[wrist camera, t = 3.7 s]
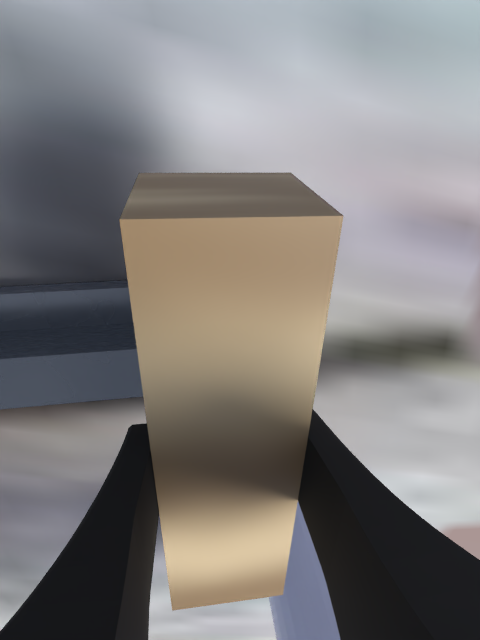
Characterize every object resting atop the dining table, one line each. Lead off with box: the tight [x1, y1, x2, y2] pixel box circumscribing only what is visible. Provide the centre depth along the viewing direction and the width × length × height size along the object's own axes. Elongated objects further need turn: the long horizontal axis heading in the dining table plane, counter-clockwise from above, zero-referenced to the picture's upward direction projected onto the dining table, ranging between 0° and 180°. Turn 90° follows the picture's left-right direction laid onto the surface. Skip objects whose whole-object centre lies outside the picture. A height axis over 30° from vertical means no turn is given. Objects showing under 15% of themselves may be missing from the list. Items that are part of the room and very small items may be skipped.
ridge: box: [0, 280, 143, 409], centre depth 17 cm, size 6×14×3 cm, turn 90°
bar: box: [119, 173, 343, 610], centre depth 12 cm, size 14×4×4 cm, turn 179°
